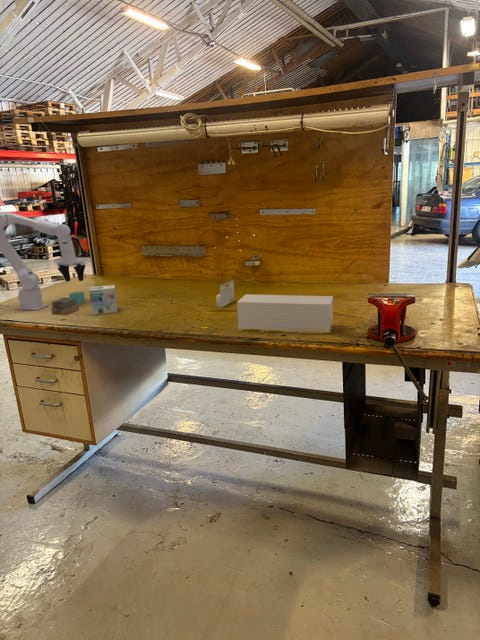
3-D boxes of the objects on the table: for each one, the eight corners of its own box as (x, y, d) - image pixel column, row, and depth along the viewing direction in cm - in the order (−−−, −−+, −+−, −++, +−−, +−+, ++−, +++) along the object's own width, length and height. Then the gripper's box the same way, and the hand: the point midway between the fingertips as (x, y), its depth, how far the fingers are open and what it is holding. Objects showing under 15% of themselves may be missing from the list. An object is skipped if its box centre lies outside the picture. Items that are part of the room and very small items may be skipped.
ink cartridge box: (216, 307, 192) (215, 284, 189) (230, 300, 201) (229, 279, 199) (221, 307, 191) (220, 285, 188) (235, 301, 200) (233, 279, 197)
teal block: (71, 304, 210) (69, 294, 208) (77, 302, 214) (75, 291, 213) (79, 304, 209) (77, 294, 207) (85, 302, 213) (83, 292, 211)
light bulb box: (92, 315, 190) (88, 290, 187) (92, 311, 197) (89, 287, 193) (118, 312, 193) (114, 287, 190) (117, 308, 199) (114, 284, 196)
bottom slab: (52, 315, 195) (51, 308, 194) (64, 310, 202) (63, 303, 201) (67, 316, 193) (66, 309, 192) (79, 310, 200) (78, 304, 199)
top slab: (52, 308, 194) (51, 301, 193) (62, 304, 201) (61, 297, 200) (66, 308, 193) (65, 301, 192) (76, 304, 199) (75, 297, 198)
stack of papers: (238, 331, 161) (237, 301, 158) (246, 321, 171) (245, 294, 168) (329, 335, 152) (329, 304, 149) (332, 325, 162) (333, 296, 158)
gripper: (86, 249, 204) (93, 278, 208) (61, 250, 210) (68, 279, 214) (75, 252, 198) (83, 282, 202) (50, 253, 204) (57, 283, 208)
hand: (74, 280), depth 208 cm, fingers open, 7 cm apart
